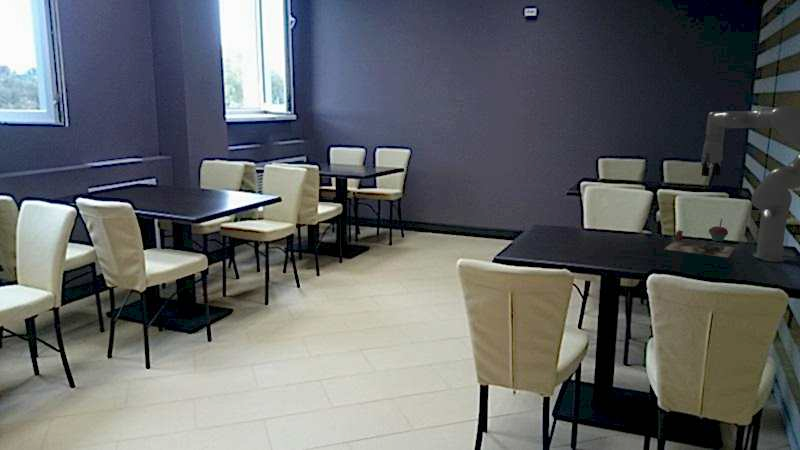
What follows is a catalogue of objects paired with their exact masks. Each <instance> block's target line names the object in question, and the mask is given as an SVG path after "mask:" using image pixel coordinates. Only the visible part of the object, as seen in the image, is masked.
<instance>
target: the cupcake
mask: <svg viewBox="0 0 800 450" xmlns="http://www.w3.org/2000/svg"><path fill="white" fill-rule="evenodd" d="M722 223H723V218H721V219H720V221H719V225H718V226H712V227H711V228H709V229H708V233H709V234H710V236H711V240H712V241H713V240H714V241H713V242H716V241H719V242H718V243H722V242H724V240H725V238H726V237H727V235H728V234H729V230H728V229H726V227H723V226H722Z"/></svg>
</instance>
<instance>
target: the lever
mask: <svg viewBox="0 0 800 450" xmlns="http://www.w3.org/2000/svg"><path fill="white" fill-rule="evenodd" d="M683 235H684V233H683V230H680V229H679V230H678V229H677V230H675V240H676V241H675V240H674V241H675V242H679V243H684V244H689V245H694V246H699V247H701V245H702V244H704V243H705V242H700V241H699V242H695V240H689V239H683ZM706 243H707V244H709V245H710V246H711V249H710V250H718V251H722V250H724V247H722V246H723V245H719V246H717V245H718V244H713V243H712V244H711V243H710V242H706Z"/></svg>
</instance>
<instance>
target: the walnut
mask: <svg viewBox="0 0 800 450" xmlns="http://www.w3.org/2000/svg"><path fill="white" fill-rule="evenodd" d="M703 243H704V244H702V245H701V249H704V250H705V252H709V251H710V249H711V246H710V245H709V244H707V243H708V242H703Z"/></svg>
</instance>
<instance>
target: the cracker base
mask: <svg viewBox="0 0 800 450" xmlns="http://www.w3.org/2000/svg"><path fill="white" fill-rule="evenodd" d="M675 241H676V240H673V241H672V242H671V243H670V244H668V245H667V246H666V247H664V250H668V251H674V252H683V253H691V254H699V255H706V256H715V257H720V258H729V257H730V256H731V254H732V253H733V252H734V250H735V249H736V247H735V246H727V245H726V246H725V245H721V246H722V247H724V250H722V251H718V250H710V251H709V252H705V250H704V249H701V247H699V246H694V245H689V244H684V243H679V242H675ZM694 241H695V242H700V240H699V239H697V238H696V239H694ZM716 245H717V246H720V245H718V244H716Z"/></svg>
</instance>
